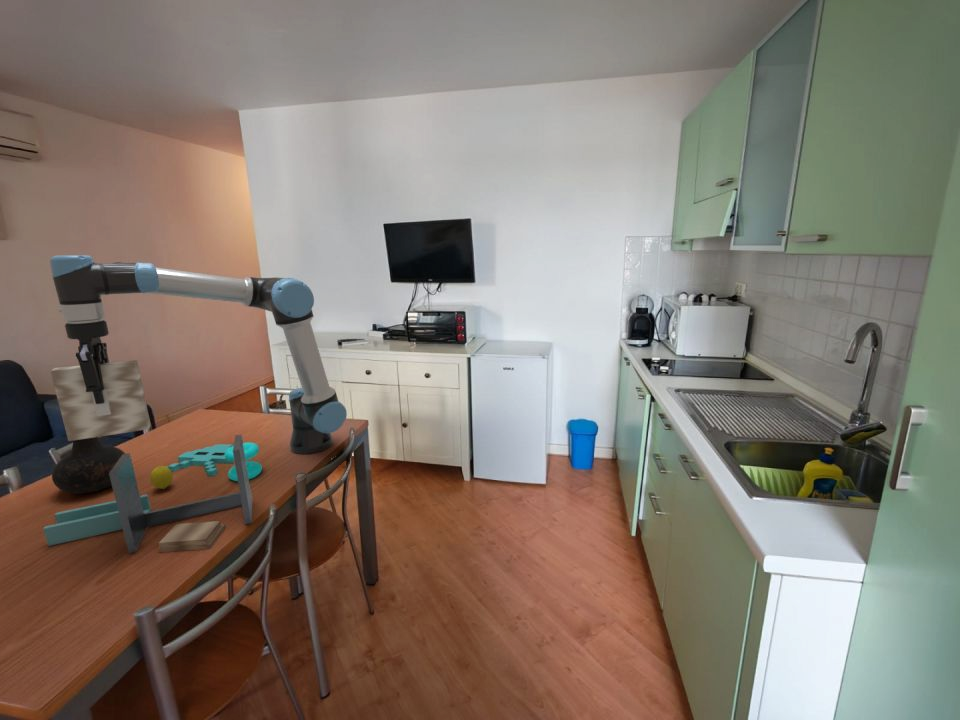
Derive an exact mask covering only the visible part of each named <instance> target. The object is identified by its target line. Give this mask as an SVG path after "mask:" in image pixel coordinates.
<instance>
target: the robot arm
mask: <svg viewBox="0 0 960 720" xmlns="http://www.w3.org/2000/svg"><path fill="white" fill-rule="evenodd" d="M49 262H50V269H51V275H52V281H53V284H54V287H55V290H56V295H57V298H58V303H59V305H60V308H58V312H59V313H62V318H63V321H65V322H66V323H65V324H64V328H65V332H66V336H67V338H68V339H70V340H77V341H78V345H79V346H77V347H78V349H77V350H78V351H77V352H76V353H75V357H76V359H77V362H78V365H79V366H80V368H81V371H82V375H83V379H84V382H85V386H86V392H91V393H92V397H93V402H94V406H95V410H96V414H97V416H103V415H110V414H112V413H111V409H110V404H109V400H108V396H107V391H106V389H104V385H103V380H102V374H101V368H100V364H103V363H110V359H109V356H108V349H107V348H108V347H107V343H106V342H102V340H101V338H102V337H106V336H108V335H109V334H110V333H109V328H108V324H107V321H106V320H104V319H105V318H106V313H105V311H104V310H105V308H104V305H103V301H102V297H101V296H108V295H123V294H124V295H125V294H153V295H162V296H171V297H173V296H174V297H182V298H192V299H202V300H211V301H220V302H221V301H223V302H231V303H239V304H242V305H243V306H245V307H250V308H257V309H261V310H264V311H268V312H270V313H271V314H272V316H273V319H274V322H275V325H276V326H278V327H280V328H281V329H282V331H283V333H284V336H285V337H284V338H285V340H286V342H287V343H286V344H287V346H288V348H289V352H290V356H291V358H292V362H293V364H294V367H295V370H296V374H297V377H298V380H299V383H300V386H301V387H298V388H295V389H292V390H291V391H290V392H288V393H289V394H288V397H289V398H288V402H289V409H290V415H291V423H292V433H291V437H290V441H289V447H290V451H291V452H293V453H294V454H298V455H306V454H307V455H309V454H315V453H319V452H322V451H324V450H326V449H328V448H330V447H331V446H332V445H333V436H332V433H334V432H337V431H338V430H340V429H341V428H342V427H343V425H344V423H345V422H346V419H347V414H348V412H347V408H346V407H345V405H343V403H341V402H340V401H339V399H338V395H337V392H336V389H335V388H334V387H331V386H330V384H329V381H328V377H327V373H326V371H325V367H324V363H323V361H322V357H321V354H320V349H319V348H318V344H317V340H316V337H315V334H314V330H313V327H312V324H311V322H312V320H313V318H314V314H313V313H314V312H313V310H312V309H313V307H314V303H315V298H314V293H313V291H312V289H311V288H310V287H309V286H308V284H306V283H304V282H303V281H302V280H299V279H295V278H292V277H253V276H246V277H245V278H236V277H235V278H234V277H229V276H222V275H217V274H216V275H214V274H208V273H207V274H206V273H200V272H192V271H184V270H178V269H170V268H163V267H156V266H155V265H154V264H153V263H152V262H138V261H137V262H122V261H121V262H120V261H117V262H111V263H96V262H95V261H94V260H93V257H92V256H91V255H84V254H83V255H82V254H81V255H53V256H52V257H51V258H50V259H49Z"/></svg>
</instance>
